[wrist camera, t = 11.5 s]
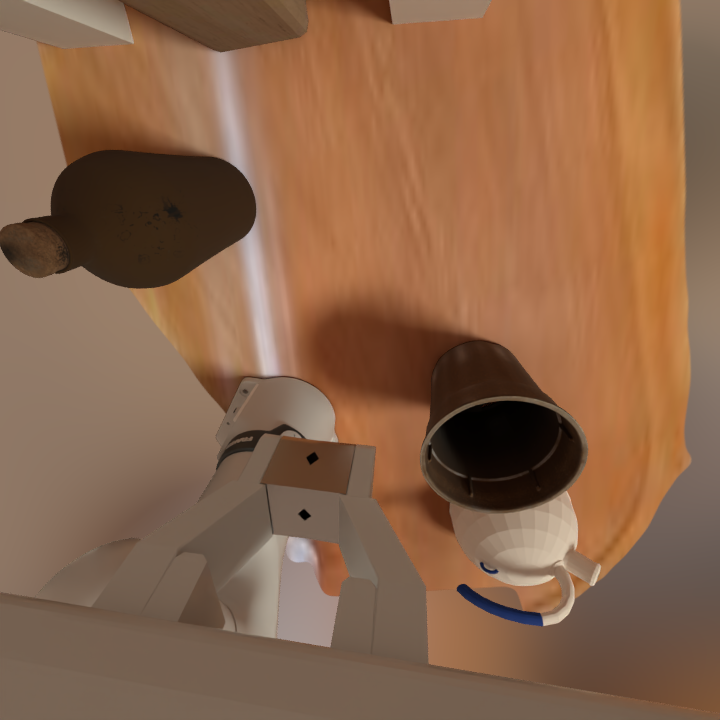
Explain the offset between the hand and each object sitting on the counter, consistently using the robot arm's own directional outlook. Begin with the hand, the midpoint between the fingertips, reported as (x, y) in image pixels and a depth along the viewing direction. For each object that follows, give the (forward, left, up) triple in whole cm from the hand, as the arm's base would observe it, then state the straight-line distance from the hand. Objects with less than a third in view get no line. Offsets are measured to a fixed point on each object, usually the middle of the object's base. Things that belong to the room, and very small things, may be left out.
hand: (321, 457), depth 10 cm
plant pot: (-7, -23, -37) cm, 44 cm away
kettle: (-21, -48, -38) cm, 64 cm away
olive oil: (-12, +17, -37) cm, 43 cm away
